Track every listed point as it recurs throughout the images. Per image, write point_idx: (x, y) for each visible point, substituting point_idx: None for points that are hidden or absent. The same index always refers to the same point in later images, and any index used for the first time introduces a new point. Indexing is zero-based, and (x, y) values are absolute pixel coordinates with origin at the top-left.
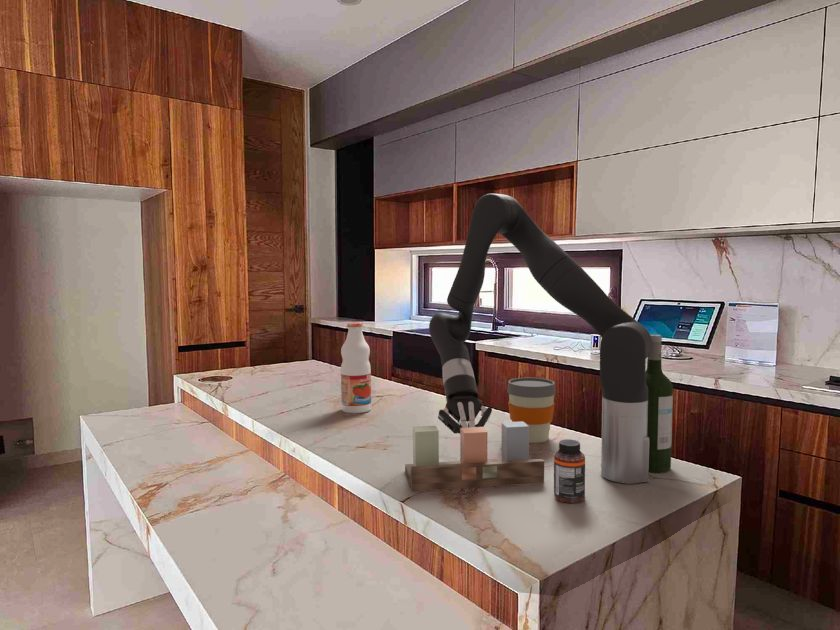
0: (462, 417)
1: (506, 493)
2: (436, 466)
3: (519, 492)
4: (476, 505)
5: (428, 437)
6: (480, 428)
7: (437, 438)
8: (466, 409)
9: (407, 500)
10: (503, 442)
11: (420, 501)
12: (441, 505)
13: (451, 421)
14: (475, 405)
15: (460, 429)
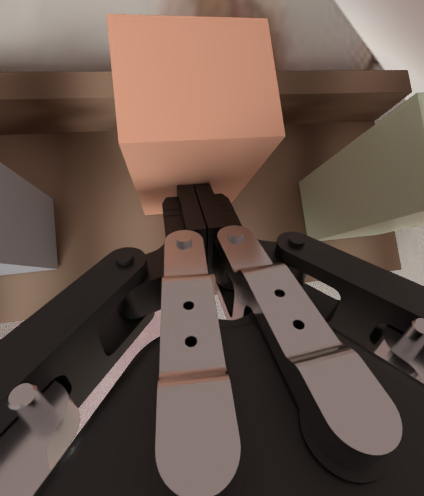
0: (274, 275)
1: (99, 66)
2: (331, 79)
3: (56, 67)
4: (198, 7)
5: None
6: (143, 103)
7: (386, 118)
8: (245, 389)
9: (364, 64)
10: (7, 225)
11: (334, 53)
12: (285, 23)
13: (346, 261)
14: (120, 477)
15: (281, 131)
